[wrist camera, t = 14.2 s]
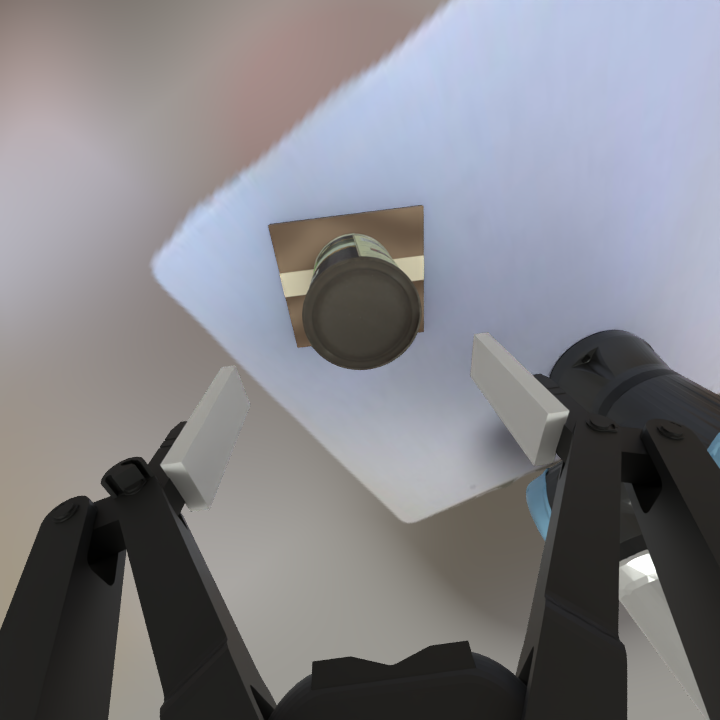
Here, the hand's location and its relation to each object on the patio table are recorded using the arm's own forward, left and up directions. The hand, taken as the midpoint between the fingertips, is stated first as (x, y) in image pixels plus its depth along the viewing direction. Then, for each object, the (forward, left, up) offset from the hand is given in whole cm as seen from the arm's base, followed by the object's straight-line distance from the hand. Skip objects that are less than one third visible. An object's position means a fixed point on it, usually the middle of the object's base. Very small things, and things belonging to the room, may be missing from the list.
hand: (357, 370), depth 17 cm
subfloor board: (-2, -1, -25) cm, 26 cm away
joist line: (-1, -1, -24) cm, 24 cm away
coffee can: (-1, -1, -24) cm, 24 cm away
